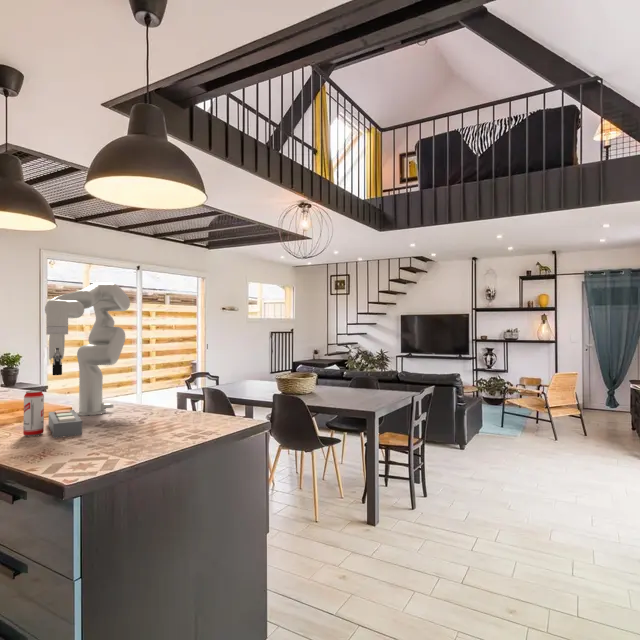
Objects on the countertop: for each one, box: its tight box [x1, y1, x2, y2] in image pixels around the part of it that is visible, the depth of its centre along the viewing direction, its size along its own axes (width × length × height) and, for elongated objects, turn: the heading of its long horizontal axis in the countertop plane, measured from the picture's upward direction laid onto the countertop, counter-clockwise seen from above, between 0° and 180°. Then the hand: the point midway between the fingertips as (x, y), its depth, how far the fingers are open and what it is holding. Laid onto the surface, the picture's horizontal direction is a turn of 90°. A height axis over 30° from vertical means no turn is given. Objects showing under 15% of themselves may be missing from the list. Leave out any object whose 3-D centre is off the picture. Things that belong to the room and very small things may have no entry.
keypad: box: [48, 409, 83, 439], centre depth 174 cm, size 9×27×5 cm, turn 34°
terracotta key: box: [54, 409, 71, 415], centre depth 180 cm, size 5×5×3 cm
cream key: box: [58, 416, 75, 422], centre depth 167 cm, size 5×5×3 cm
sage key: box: [57, 413, 73, 418], centre depth 174 cm, size 5×5×3 cm
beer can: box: [22, 389, 45, 437], centre depth 164 cm, size 6×6×16 cm
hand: (57, 373), depth 179 cm, fingers open, 9 cm apart
